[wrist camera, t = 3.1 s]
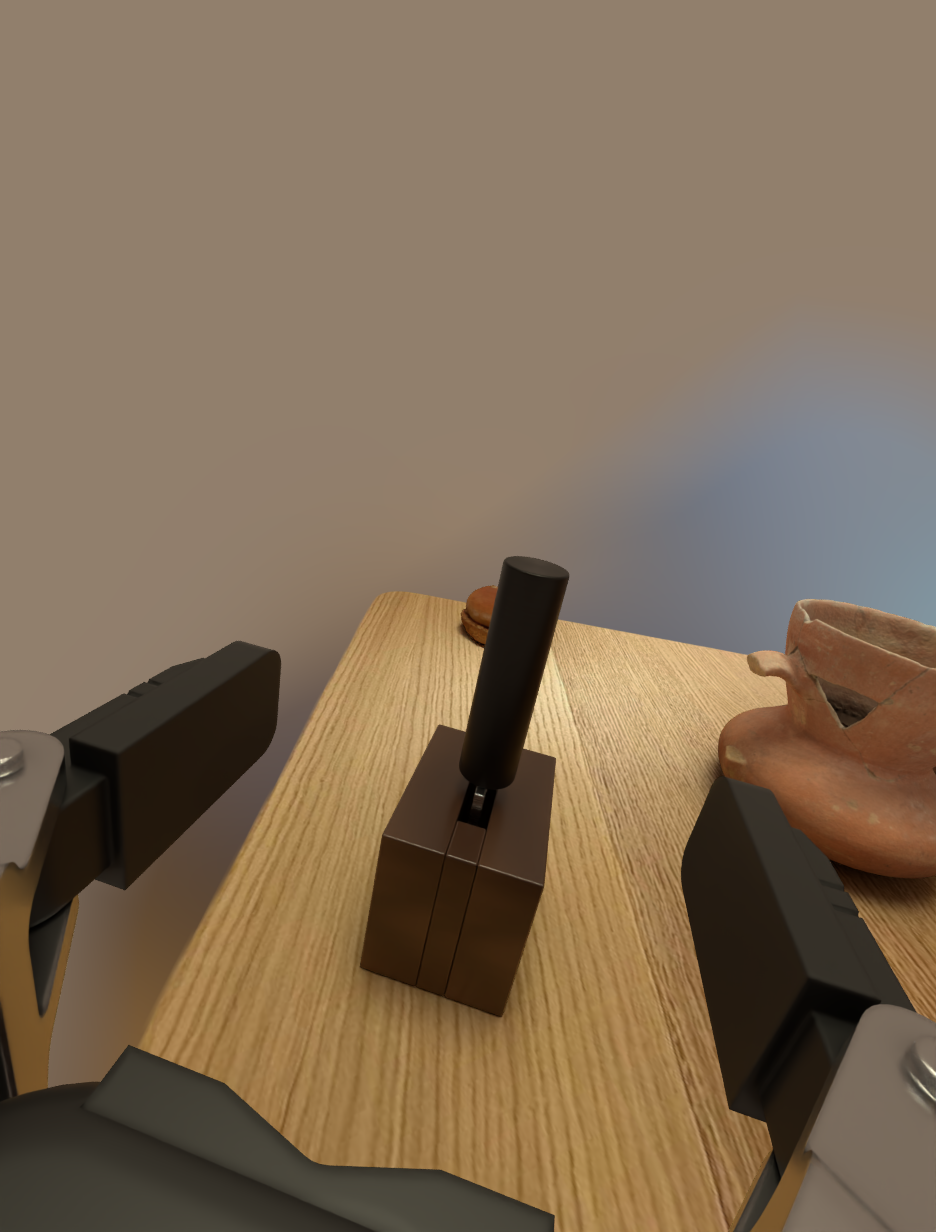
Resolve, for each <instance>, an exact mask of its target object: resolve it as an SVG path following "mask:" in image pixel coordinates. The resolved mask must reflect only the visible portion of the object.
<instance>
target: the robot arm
mask: <svg viewBox="0 0 936 1232" xmlns="http://www.w3.org/2000/svg"><path fill="white" fill-rule="evenodd" d="M280 671H281V659H280V655H279V653H278V652H276V651H275V650H271V649H267V648H264V647H260V646H256V645H253V644H249V643H246V642H242V641H235V642H233V643H231V644H230V645H228V646H226V647H224V648H222V649H221V650H219V651H217V652H216V653H214V654H212V655H211V656H209V657H207V658H201V659H197V660H194V661H190V662H186V663H183V664H179V665H176V666H172V667H170V668H169V669H167V670H165V671H164V672H161V673H160V674H158V675H156V676H154V677H152V678H151V679H149V681H148V683H145V682H143V683H142V684H140V685H138V686H136V687H134V688H133V689H131V690H129V692H128V694H122V695H120V696H119V697H117V698H115V699H113V700H111V701H109V702H107V703H106V704H104V705H102V706H100V707H99V708H97V709H95V710H93V711H91V712H89V713H88V714H86V715H84V716H82V717H80V718H79V719H77V720H75V721H73V722H71V723H70V724H68V725H66V726H64V727H62V728H61V729H59V730H57V731H55V732H53V733H52V734H50V735H49V734H46V733H42V732H37V731H28V730H11V731H1V732H0V1232H554V1218H555V1215H552V1214H550V1213H547V1212H545V1211H542V1210H540V1209H537V1208H535V1207H532V1206H530V1205H527V1204H525V1203H522V1202H520V1201H517V1200H515V1199H512V1198H510V1197H507V1196H505V1195H502V1194H500V1193H497V1192H495V1191H492V1190H490V1189H487V1188H485V1187H482V1186H480V1185H477V1184H475V1183H472V1182H470V1181H467V1180H465V1179H462V1178H460V1177H457V1176H455V1175H452V1174H450V1173H447V1172H445V1171H442V1170H432V1169H406V1168H380V1167H355V1166H329V1165H322V1164H318V1163H316V1162H313V1161H311V1160H310V1159H308V1158H307V1157H306V1156H304V1155H303V1154H302V1153H301V1152H300V1151H299V1150H298V1149H297V1148H295V1147H294V1146H293V1145H292V1144H291V1143H290V1142H289V1141H288V1140H287V1139H286V1138H284V1137H283V1136H282V1135H281V1134H280V1133H279V1132H278V1131H277V1130H276V1129H274V1128H273V1127H272V1126H271V1125H270V1124H269V1123H268V1122H267V1121H266V1120H265V1119H263V1118H262V1117H261V1116H260V1115H259V1114H258V1113H257V1112H256V1111H255V1110H253V1109H252V1108H251V1107H250V1106H249V1105H248V1104H247V1103H246V1102H245V1101H244V1100H242V1099H241V1098H240V1097H239V1096H238V1095H237V1094H236V1093H235V1092H234V1091H233V1090H231V1089H230V1088H229V1087H228V1086H227V1085H226V1084H225V1083H223V1082H220V1081H218V1080H215V1079H213V1078H210V1077H208V1076H205V1075H203V1074H200V1073H198V1072H195V1071H193V1070H190V1069H188V1068H185V1067H183V1066H180V1065H178V1064H175V1063H173V1062H170V1061H168V1060H165V1059H163V1058H160V1057H158V1056H155V1055H153V1054H150V1053H148V1052H145V1051H143V1050H140V1049H138V1048H135V1047H133V1046H130V1045H128V1047H127V1048H126V1049H125V1050H124V1052H123V1053H122V1054H121V1056H120V1057H119V1058H118V1060H117V1061H116V1062H115V1064H114V1065H113V1066H112V1068H111V1069H110V1071H109V1072H108V1073H107V1074H106V1076H105V1077H104V1078H103V1080H102V1081H101V1082H86V1083H76V1084H66V1085H60V1086H55V1087H51V1088H48V1063H49V1051H50V1043H51V1037H52V1031H53V1026H54V1022H55V1017H56V1012H57V1007H58V1003H59V998H60V994H61V988H62V984H63V980H64V975H65V970H66V966H67V960H68V956H69V951H70V947H71V942H72V937H73V933H74V928H75V924H76V919H77V914H78V908H79V900H78V894H79V893H80V892H81V891H82V890H83V889H84V888H85V887H86V886H88V885H89V884H90V883H91V882H92V881H93V880H94V879H95V880H98V881H101V882H104V883H106V884H109V885H112V886H115V887H118V888H120V889H123V890H126V889H127V888H128V887H129V886H130V885H131V884H132V883H133V882H134V881H135V880H136V879H137V878H138V877H139V876H140V875H141V874H142V873H143V872H144V871H145V870H146V869H147V868H148V867H149V866H150V865H151V864H152V863H153V862H154V861H155V860H156V859H158V857H160V856H161V855H162V854H163V853H164V852H165V851H166V850H167V849H168V848H169V847H170V846H171V845H172V844H173V843H174V842H175V841H176V840H177V839H178V838H179V837H180V836H181V835H182V834H183V833H184V832H185V831H186V830H187V829H188V828H189V827H190V826H191V825H192V824H193V823H194V822H195V821H196V820H197V819H198V818H199V817H200V816H201V815H202V814H203V813H204V812H205V811H206V810H207V809H208V808H209V807H210V806H211V805H212V804H213V803H214V802H215V801H216V800H217V799H219V798H220V797H221V796H222V794H224V793H225V792H226V791H227V790H228V789H229V788H230V787H231V786H232V785H233V784H234V783H235V782H236V781H237V780H238V779H239V778H240V777H241V776H242V775H243V774H244V773H245V772H246V771H247V770H248V769H249V768H250V767H251V766H252V765H253V764H254V763H255V762H256V761H257V760H258V759H259V758H260V757H261V756H262V755H263V754H264V753H265V751H266V750H267V748H268V747H269V745H270V743H271V741H272V738H273V736H274V733H275V730H276V725H277V715H278V699H279V686H280ZM681 882H682V889H683V893H684V898H685V903H686V908H687V912H688V917H689V922H690V926H691V931H692V936H693V941H694V945H695V950H696V955H697V960H698V964H699V969H700V974H701V978H702V983H703V988H704V993H705V997H706V1002H707V1007H708V1011H709V1016H710V1021H711V1026H712V1030H713V1035H714V1040H715V1045H716V1049H717V1054H718V1059H719V1063H720V1068H721V1073H722V1078H723V1082H724V1087H725V1092H726V1097H727V1101H728V1106H729V1109H730V1110H733V1111H735V1112H738V1113H741V1114H744V1115H747V1116H749V1117H752V1118H755V1119H758V1120H761V1121H763V1122H766V1123H767V1127H768V1130H769V1134H770V1138H771V1142H772V1146H773V1147H772V1149H771V1150H770V1152H769V1153H768V1155H767V1156H766V1157H765V1159H764V1160H763V1162H762V1164H761V1166H760V1168H759V1170H758V1172H757V1174H756V1176H755V1178H754V1180H753V1182H752V1184H751V1186H750V1188H749V1190H748V1192H747V1194H746V1196H745V1198H744V1200H743V1203H742V1205H741V1207H740V1209H739V1211H738V1213H737V1215H736V1217H735V1219H734V1221H733V1223H732V1225H731V1227H730V1229H729V1231H728V1232H936V1023H935V1022H933V1021H931V1020H930V1019H928V1018H926V1017H924V1016H922V1015H920V1014H918V1013H916V1011H915V1009H914V1007H913V1006H912V1004H911V1002H910V1000H909V999H908V997H907V995H906V993H905V992H904V990H903V988H902V986H901V985H900V983H899V981H898V979H897V978H896V976H895V974H894V972H893V971H892V969H891V967H890V965H889V964H888V962H887V960H886V958H885V957H884V955H883V953H882V951H881V950H880V948H879V946H878V944H877V943H876V941H875V939H874V937H873V936H872V934H871V932H870V930H869V929H868V927H867V925H866V923H865V922H864V920H863V918H859V917H858V913H859V911H858V909H857V908H856V906H855V904H854V902H853V901H852V899H851V897H850V895H849V894H848V893H847V892H844V885H843V883H842V881H841V880H840V878H839V876H838V874H837V873H836V871H835V869H834V867H833V866H832V864H831V862H830V861H829V859H828V857H827V856H826V855H825V854H824V853H823V852H822V851H821V850H820V849H819V848H818V847H817V846H816V845H815V844H814V843H813V842H812V841H811V840H810V839H809V838H808V837H807V836H806V835H805V834H804V833H803V832H802V831H801V830H800V829H796V828H793V827H791V826H790V824H789V822H788V820H787V818H786V816H785V814H784V812H783V811H782V809H781V807H780V805H779V803H778V801H777V799H776V797H775V795H774V794H773V792H772V791H771V790H769V789H767V788H764V787H760V786H756V785H753V784H749V783H746V782H742V781H738V780H735V779H731V778H728V777H724V776H721V777H719V778H717V779H716V780H715V782H714V783H713V785H712V787H711V789H710V791H709V794H708V796H707V798H706V801H705V803H704V805H703V808H702V810H701V812H700V815H699V817H698V819H697V822H696V824H695V826H694V828H693V831H692V833H691V835H690V838H689V840H688V842H687V845H686V848H685V851H684V855H683V860H682V867H681Z"/></svg>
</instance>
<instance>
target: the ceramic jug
mask: <svg viewBox="0 0 936 1232" xmlns="http://www.w3.org/2000/svg"><path fill="white" fill-rule="evenodd" d="M747 662H748V664H749V668H750V670H751V671H752V672H753V673H755V674H757V675H759V676H764V677H765V676H777V677H780V678H782V679H784V680H785V681H786V687H787V696H788V705H782V706H775V707H764V708H757V709H752V710H749V711H746V712H743V713H741V714H739V715H737V716H735V717H734V718H733V719H731V720H730V721H729V722H728V723H727V724H726V725H725V727H724V728H723V730H722V732H721V734H720V738H719V744H718V755H719V761H720V765H721V769H722V771H723V774H724V776H725V777H728V778H731V779H735V780H738V781H742V782H746V783H749V784H753V785H756V786H760V787H764V788H767V789H769V790H771V791H772V792H773V794H774V795H775V797H776V799H777V801H778V803H779V805H780V807H781V809H782V811H783V812H784V814H785V816H786V818H787V820H788V822H789V824H790V826H791V827H793V828H796V829H800V830H801V831H802V832H803V833H804V834H805V835H806V836H807V837H808V838H809V839H810V840H811V841H812V842H813V843H814V844H815V845H816V846H817V847H818V848H819V849H820V850H821V851H822V852H823V853H824V854H825V855H826V856H827V857H828V859H830V860H833V861H835V862H838V863H840V864H843V865H846V866H848V867H851V868H854V869H858V870H861V871H865V872H869V873H873V874H878V875H883V876H889V877H896V878H925V877H930V876H935V875H936V627H934V626H930V625H925V624H923V623H921V622H918V621H915V620H912V619H908V618H905V617H900V616H897V615H894V614H889V613H885V612H882V611H880V610H876V609H872V608H868V607H861V606H857V605H853V604H850V603H844V602H836V601H832V600H816V599H806V600H800V601H798V602H797V603H796V605H795V607H794V609H793V612H792V615H791V618H790V621H789V627H788V632H787V640H786V651H785V654H783V653H780V652H777V651H758V652H755V653H752V654H749V655H748V656H747Z"/></svg>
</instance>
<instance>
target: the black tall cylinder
mask: <svg viewBox="0 0 936 1232" xmlns="http://www.w3.org/2000/svg"><path fill="white" fill-rule="evenodd" d="M568 580H569V573H568V571H566V570H565V569H564V568H562V567H560V566H558V565H556V564H553V563H550V562H548V561H544V560H540V559H536V558H530V557H522V556H514V557H508V558H506V559H505V560H504V562H503V566H502V571H501V575H500V580H499V584H498V589H497V593H496V598H495V602H494V607H493V611H492V616H491V620H490V625H489V630H488V634H487V639H486V643H485V648H484V652H483V657H482V661H481V666H480V670H479V675H478V679H477V684H476V688H475V693H474V697H473V702H472V706H471V711H470V715H469V720H468V724H467V729H466V734H465V738H464V743H463V747H462V752H461V756H460V761H459V769H460V772H461V774H462V775H463V777H464V778H465V779H466V780H467V781H469V782H470V783H472V784H474V785H476V786H477V788H476V791H475V794H474V799H473V803H472V807H471V811H470V815H469V819H468V824H470V825H474V826H477V827H478V826H479V822H480V818H481V814H482V810H483V806H484V802H485V798H486V794H487V790H488V789H490V790H498V789H503V788H506V787H508V786H509V785H511V784H512V783H513V781H514V780H515V776H516V773H517V769H518V765H519V761H520V758H521V754H522V750H523V747H524V743H525V739H526V736H527V732H528V728H529V724H530V721H531V717H532V713H533V710H534V706H535V702H536V698H537V695H538V691H539V687H540V684H541V680H542V676H543V673H544V669H545V665H546V661H547V658H548V654H549V650H550V647H551V643H552V639H553V635H554V632H555V628H556V624H557V621H558V616H559V613H560V609H561V605H562V602H563V598H564V595H565V591H566V587H567V584H568Z"/></svg>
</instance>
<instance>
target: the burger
mask: <svg viewBox="0 0 936 1232" xmlns="http://www.w3.org/2000/svg"><path fill="white" fill-rule="evenodd" d="M497 589H498V587H496V586H494V585H492V586H486V587H482V588H480V589H477V590H475V591H474V592H473V593H472V594H471V595H470V596H469V597H468V599H467V603H466V609H464V610H463V611H462V612H461V619H462V623H463V625H464V626H465V628H466V631H467V632H468V634H470V636H472V637H474V639H475V640H476V641H478V642H481V643H482V644H485V643H486V639H487V634H488V630H489V625H490V620H491V616H492V611H493V607H494V602H495V598H496V593H497Z"/></svg>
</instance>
